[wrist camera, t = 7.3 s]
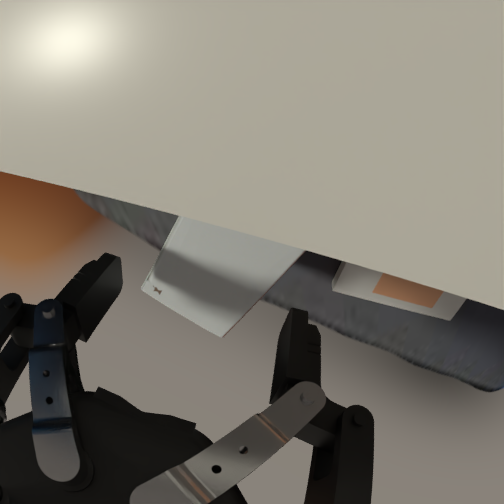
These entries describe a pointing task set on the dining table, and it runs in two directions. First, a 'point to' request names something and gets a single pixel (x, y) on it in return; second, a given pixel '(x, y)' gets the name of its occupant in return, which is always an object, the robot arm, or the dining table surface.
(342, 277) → the pad
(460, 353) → the dining table surface
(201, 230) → the small box
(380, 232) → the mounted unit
